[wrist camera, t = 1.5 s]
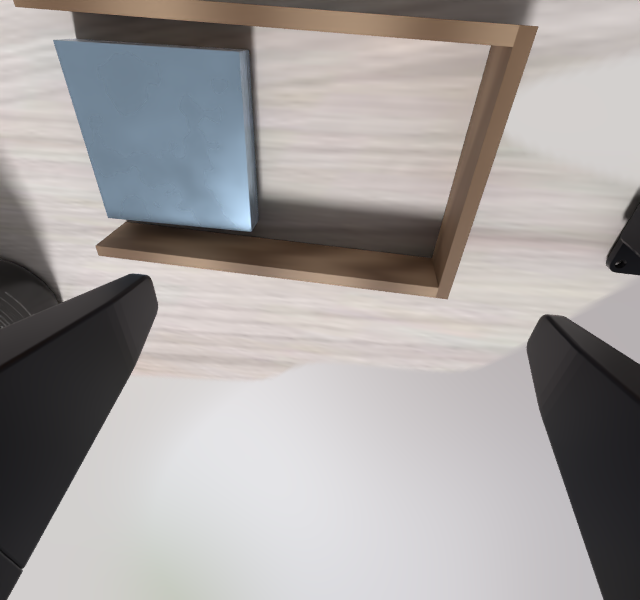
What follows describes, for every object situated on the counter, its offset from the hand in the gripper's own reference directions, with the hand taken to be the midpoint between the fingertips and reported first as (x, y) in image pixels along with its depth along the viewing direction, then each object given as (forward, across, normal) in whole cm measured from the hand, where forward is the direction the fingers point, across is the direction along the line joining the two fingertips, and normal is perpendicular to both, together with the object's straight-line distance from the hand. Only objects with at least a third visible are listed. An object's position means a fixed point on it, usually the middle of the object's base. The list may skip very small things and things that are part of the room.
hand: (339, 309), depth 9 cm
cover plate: (+13, +9, 0) cm, 16 cm away
